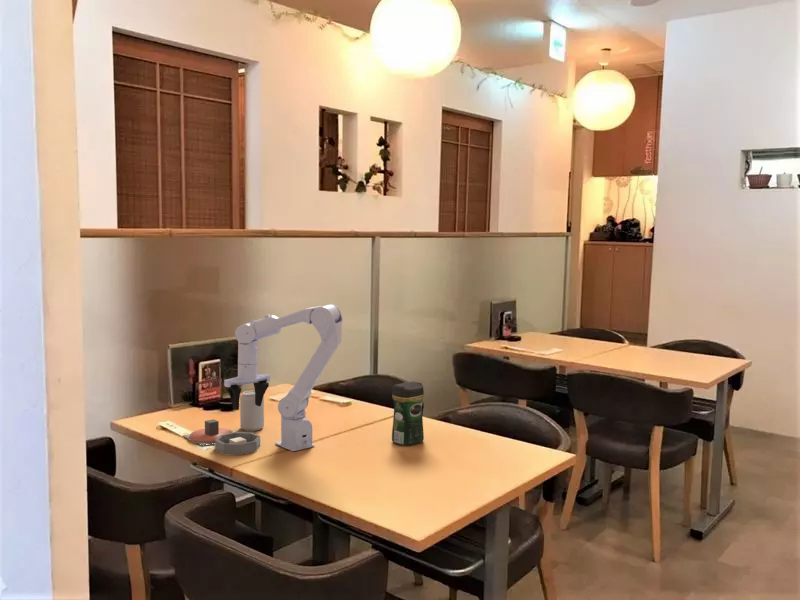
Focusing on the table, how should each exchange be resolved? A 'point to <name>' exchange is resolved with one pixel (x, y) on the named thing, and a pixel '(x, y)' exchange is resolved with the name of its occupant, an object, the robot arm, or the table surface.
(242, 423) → the can
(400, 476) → the table surface
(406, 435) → the coffee jar
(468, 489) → the table surface
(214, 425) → the lid
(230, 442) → the bowl
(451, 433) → the table surface
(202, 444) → the mat
